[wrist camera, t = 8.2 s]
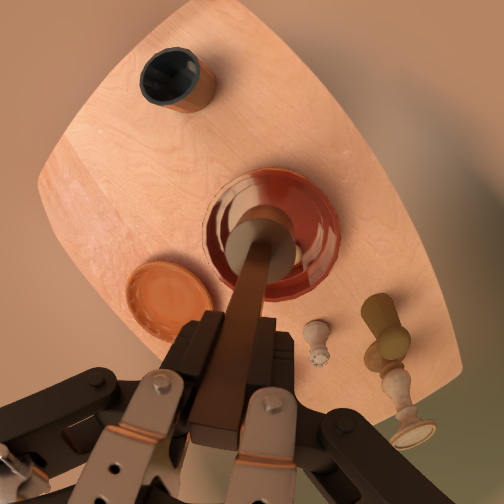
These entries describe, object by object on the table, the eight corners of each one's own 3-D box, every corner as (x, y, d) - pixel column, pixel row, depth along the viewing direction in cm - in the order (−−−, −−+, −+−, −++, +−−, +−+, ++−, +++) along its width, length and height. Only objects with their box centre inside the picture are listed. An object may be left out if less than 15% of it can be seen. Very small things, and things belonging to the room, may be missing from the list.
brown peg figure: (391, 320, 42) (411, 361, 32) (359, 325, 43) (374, 369, 33) (395, 291, 40) (420, 329, 30) (361, 295, 41) (380, 337, 31)
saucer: (226, 333, 46) (223, 344, 44) (150, 335, 49) (144, 344, 46) (203, 249, 41) (197, 256, 38) (121, 261, 44) (112, 268, 41)
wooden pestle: (238, 202, 23) (106, 357, 5) (297, 207, 22) (330, 394, 5) (235, 256, 25) (148, 451, 7) (290, 262, 24) (290, 476, 7)
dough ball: (282, 240, 39) (281, 247, 36) (302, 242, 38) (304, 249, 36) (280, 259, 40) (279, 267, 37) (300, 261, 39) (301, 269, 37)
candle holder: (410, 333, 42) (450, 415, 24) (399, 366, 46) (427, 445, 27) (368, 337, 44) (397, 429, 25) (360, 371, 47) (378, 457, 28)
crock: (168, 67, 32) (143, 52, 24) (218, 63, 31) (202, 43, 24) (163, 114, 34) (137, 108, 27) (214, 112, 34) (197, 103, 26)
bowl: (215, 164, 36) (203, 166, 31) (339, 174, 35) (348, 178, 29) (213, 275, 43) (202, 294, 37) (322, 286, 41) (327, 307, 36)
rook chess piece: (302, 320, 44) (304, 351, 36) (328, 318, 43) (335, 349, 36) (303, 340, 45) (304, 372, 38) (328, 338, 44) (333, 370, 37)
